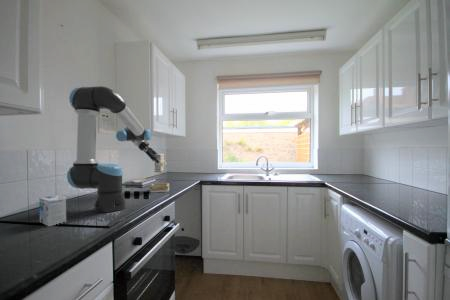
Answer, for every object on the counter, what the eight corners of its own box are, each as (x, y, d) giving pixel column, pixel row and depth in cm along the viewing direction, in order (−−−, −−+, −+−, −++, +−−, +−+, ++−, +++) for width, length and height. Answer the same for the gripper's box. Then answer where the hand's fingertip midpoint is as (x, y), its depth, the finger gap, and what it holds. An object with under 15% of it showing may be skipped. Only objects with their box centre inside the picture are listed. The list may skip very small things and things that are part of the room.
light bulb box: (39, 222, 101) (38, 197, 101) (57, 218, 107) (56, 194, 106) (48, 226, 95) (48, 200, 95) (67, 222, 101) (66, 197, 100)
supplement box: (158, 171, 174) (157, 153, 174) (164, 171, 174) (164, 153, 174) (154, 172, 166) (154, 154, 166) (161, 172, 166) (160, 154, 166)
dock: (168, 191, 165) (167, 185, 165) (149, 192, 163) (149, 186, 163) (169, 188, 177) (169, 183, 177) (152, 189, 175) (152, 183, 175)
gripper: (143, 147, 180) (164, 167, 180) (132, 147, 159) (156, 170, 160) (149, 140, 180) (170, 160, 180) (140, 139, 159) (163, 162, 159)
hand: (163, 165), depth 170 cm, fingers closed on supplement box, 8 cm apart
